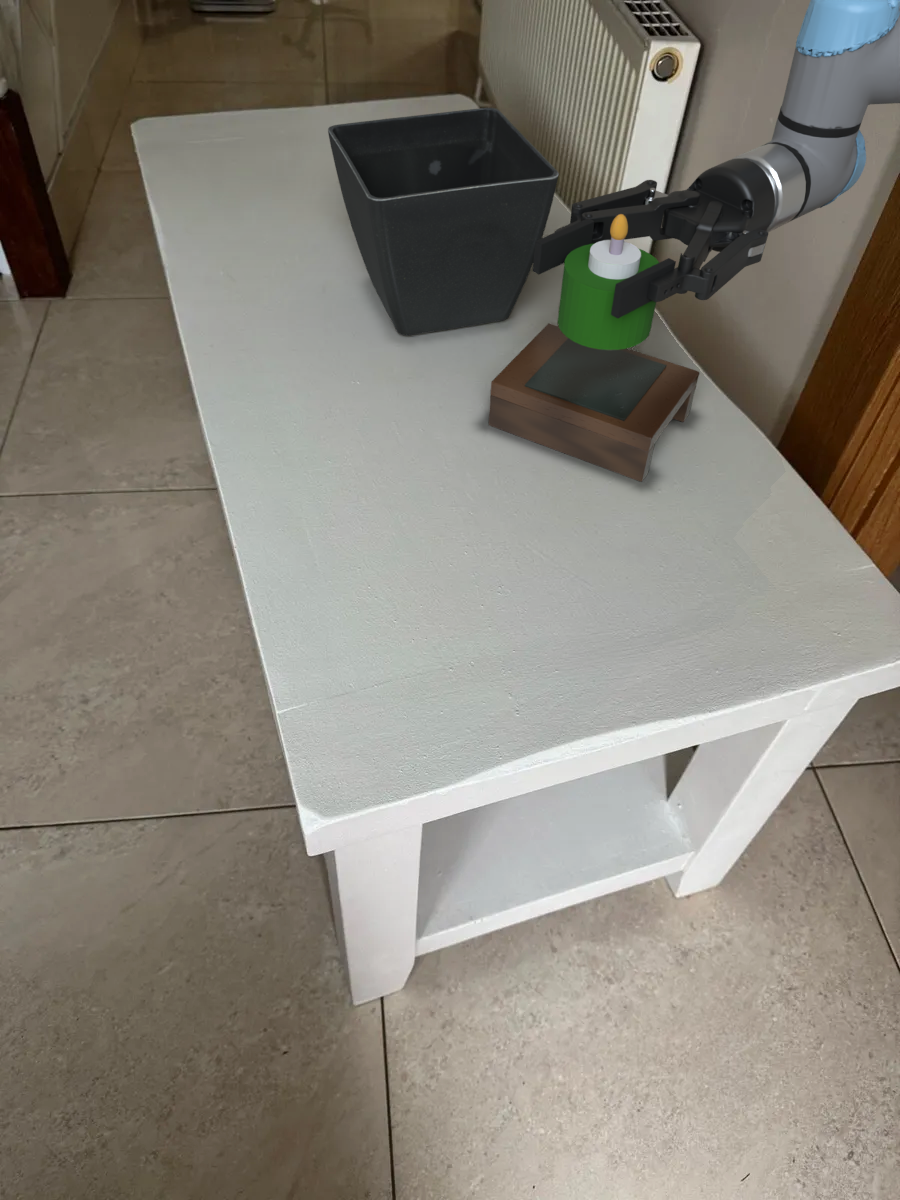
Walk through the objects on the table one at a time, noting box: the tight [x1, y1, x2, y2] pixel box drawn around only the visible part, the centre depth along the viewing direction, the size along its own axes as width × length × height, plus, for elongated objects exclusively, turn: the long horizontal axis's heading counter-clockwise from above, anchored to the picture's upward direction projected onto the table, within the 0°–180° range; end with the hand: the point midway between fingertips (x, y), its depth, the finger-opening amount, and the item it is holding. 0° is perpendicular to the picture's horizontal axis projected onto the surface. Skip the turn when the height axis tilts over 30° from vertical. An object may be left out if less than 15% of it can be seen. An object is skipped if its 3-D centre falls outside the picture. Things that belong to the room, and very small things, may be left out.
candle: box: [557, 214, 660, 350], centre depth 79 cm, size 8×8×10 cm
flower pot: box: [327, 107, 560, 336], centre depth 99 cm, size 19×19×17 cm
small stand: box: [488, 322, 700, 483], centre depth 89 cm, size 16×12×5 cm
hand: (575, 279), depth 76 cm, fingers closed on candle, 8 cm apart
